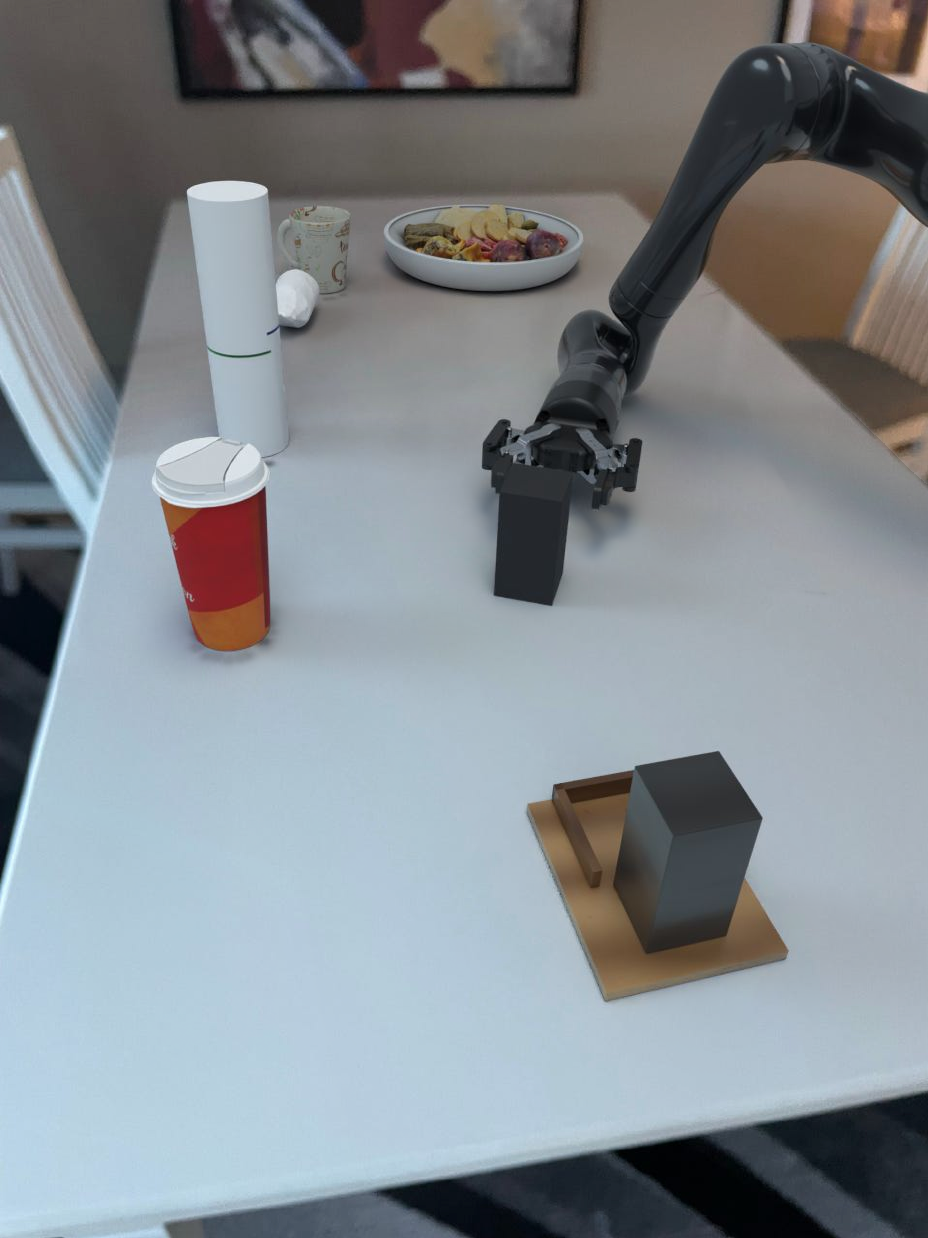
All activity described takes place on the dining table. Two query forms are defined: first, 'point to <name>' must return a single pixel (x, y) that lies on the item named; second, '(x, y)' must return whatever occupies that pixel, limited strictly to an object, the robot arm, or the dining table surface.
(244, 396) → the cylindrical container
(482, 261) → the bowl
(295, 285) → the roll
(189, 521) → the coffee cup
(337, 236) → the mug
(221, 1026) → the dining table surface
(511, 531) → the black rectangular block
